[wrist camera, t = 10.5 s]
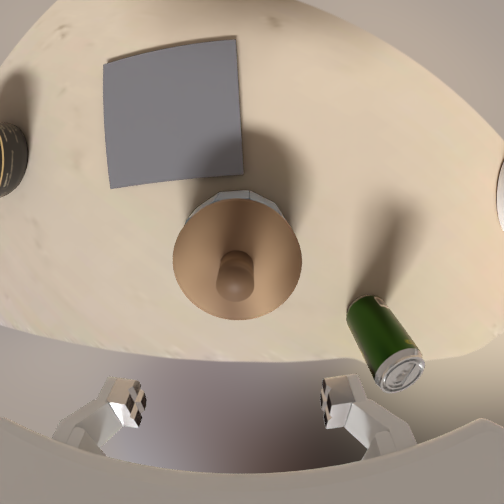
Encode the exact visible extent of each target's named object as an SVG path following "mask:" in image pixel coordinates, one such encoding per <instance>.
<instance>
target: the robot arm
mask: <svg viewBox="0 0 504 504" xmlns="http://www.w3.org/2000/svg"><path fill="white" fill-rule="evenodd" d="M497 212H498V218H499V222H500V225H501V227H502V229H503V231H504V162H503V165H502V168H501V171H500V175H499V180H498V188H497ZM322 387H323V389H322V390H321V393H320V403H321V409H322V410H323V411H324V422H325V427H326V429H330V428H338V427H345V428H346V429H347V430H348V431H349V432H350V433H351V434H352V435H353V436H354V437H355V438H357V439H358V440H359V441H360V442H361V443H362V444H363V445H364V446H365V447H366V448H367V449H368V450H367V452H366V453H365V455H364V457H363V458H362V460H361V461H357V462H352V463H348V464H342V465H338V466H331V467H325V468H319V469H311V470H302V471H293V472H282V473H281V472H280V473H263V474H223V473H203V472H191V471H181V470H173V469H165V468H158V467H153V466H146V465H141V464H136V463H131V462H127V461H122V460H118V459H114V458H110V457H106V455H105V454H104V453H103V451H102V450H101V449H100V447H102V446H103V445H104V444H105V443H106V442H107V441H108V440H109V439H110V438H111V437H112V436H114V435H115V434H116V433H117V432H118V431H119V430H120V429H121V428H122V427H123V426H128V427H135V428H139V426H140V423H141V420H142V415H141V413H142V412H143V411H145V408H146V401H147V399H146V395H145V393H144V391H142V390H141V389H140V388H141V384H140V382H139V381H137V380H131V379H124V378H117V377H108V378H107V380H106V382H105V384H104V386H103V387H102V389H101V391H100V393H99V396H98V397H97V400H93V401H91V402H89V403H88V404H87V405H85V406H83V407H82V408H80V409H79V410H77V411H75V412H74V413H72V414H71V415H69V416H67V417H66V418H64V419H63V420H61V421H60V423H59V425H58V427H57V429H56V431H55V433H54V435H53V437H52V439H51V438H49V437H46V436H44V435H41V434H39V433H36V432H34V431H32V430H30V429H28V428H26V427H23V426H21V425H19V424H17V423H15V422H13V421H11V420H9V419H7V418H5V417H0V504H504V427H502V426H500V425H498V424H496V423H493V422H492V421H489V420H487V419H484V418H480V419H477V420H475V421H472V422H470V423H468V424H466V425H464V426H462V427H460V428H458V429H455V430H453V431H451V432H449V433H446V434H444V435H441V436H439V437H436V438H434V439H432V440H428V441H426V442H423V443H420V444H417V443H416V441H415V438H414V436H413V434H412V431H411V429H410V427H409V425H408V424H407V423H406V422H405V421H403V420H401V419H400V418H398V417H397V416H395V415H394V414H392V413H391V412H389V411H388V410H386V409H385V408H383V407H382V406H380V405H379V404H377V403H376V402H374V401H372V400H371V399H369V400H368V399H367V397H366V394H365V391H364V389H363V386H362V384H361V381H360V379H359V376H358V375H357V374H349V375H342V376H337V377H329V378H323V380H322Z"/></svg>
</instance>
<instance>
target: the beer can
mask: <svg viewBox="0 0 504 504" xmlns="http://www.w3.org/2000/svg"><path fill="white" fill-rule="evenodd" d="M346 321H347V324H348V326H349V328H350V330H351V332H352V334H353V336H354V338H355V340H356V342H357V345H358V347H359V349H360V351H361V353H362V355H363V357H364V359H365V361H366V363H367V365H368V368H369V369H370V372H371V374H372V376H373V378H374V380H375V383H376V384H377V385H378V386H379V387H380V388H381V389H382V390H383V391H384V392H386V393H396V392H399V391H402V390H404V389H406V388H408V387H409V386H411V385H412V384H413V383H415V381H417V379H419V377H420V376H421V374H422V373H423V370H424V368H425V362H424V360H423V359H422V353H421V352H420V350H419V349H418V347H417V346H416V345H415V343H414V342H413V340H412V339H411V337H410V336H409V335H408V333H407V332H406V331H405V329H404V328H403V326H402V325H401V324H400V322H399V321H398V320H397V318H396V317H395V316H394V314H393V313H392V312H391V310H390V309H389V308H388V306H387V305H386V304H385V302H384V301H383V300H382V299H381V298H380V297H378V296H375V295H369V294H368V295H363V296H361V297H358V298H357V299H356V300H354V301H353V302H352V304H351V305H350V306H349V309H348V311H347V318H346Z"/></svg>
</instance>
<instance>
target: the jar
mask: <svg viewBox="0 0 504 504" xmlns="http://www.w3.org/2000/svg"><path fill="white" fill-rule="evenodd" d="M27 160H28V149H27V143H26V140H25V137H24V135H23V133H22V131H21V130H20V129H19V128H18V127H17V126H15V125H12V124H10V123H0V197H3V196H5V195H7V194H9V193H10V192H12V191H13V190H14V189H15V188H16V187H17V186H18V185H19V184H20V182H21V180H22V178H23V176H24V173H25V170H26V166H27Z"/></svg>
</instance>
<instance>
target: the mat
mask: <svg viewBox="0 0 504 504" xmlns="http://www.w3.org/2000/svg"><path fill="white" fill-rule="evenodd" d="M103 104H104V127H105V142H106V154H107V164H108V173H109V181H110V189H114V188H121V187H127V186H134V185H141V184H149V183H157V182H165V181H173V180H183V179H193V178H203V177H215V176H228V175H243V174H244V171H243V155H242V138H241V121H240V104H239V87H238V70H237V53H236V39H234V40H222V41H212V42H204V43H196V44H189V45H183V46H177V47H172V48H166V49H161V50H157V51H152V52H148V53H143V54H139V55H135V56H131V57H128V58H124V59H121V60H117V61H114V62H111V63H107V64H104V65H103Z"/></svg>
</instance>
